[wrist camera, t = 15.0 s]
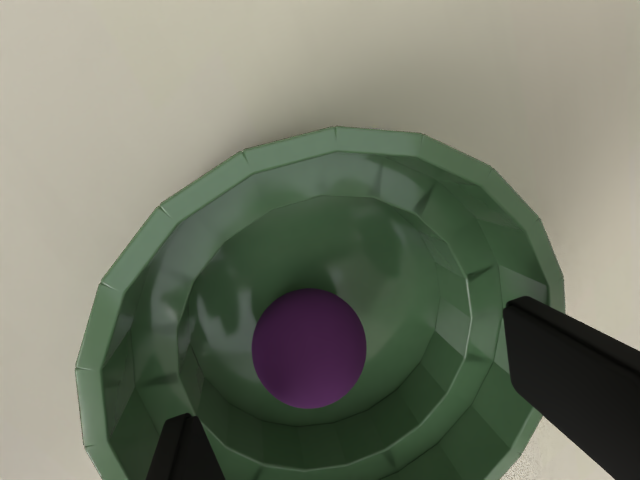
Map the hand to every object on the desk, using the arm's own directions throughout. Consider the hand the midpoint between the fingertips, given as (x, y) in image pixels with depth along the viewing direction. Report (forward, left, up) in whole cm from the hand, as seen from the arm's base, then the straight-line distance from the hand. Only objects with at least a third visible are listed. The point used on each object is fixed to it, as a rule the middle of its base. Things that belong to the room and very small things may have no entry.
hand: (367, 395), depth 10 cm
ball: (+1, -1, -3) cm, 3 cm away
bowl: (0, 0, -5) cm, 5 cm away
